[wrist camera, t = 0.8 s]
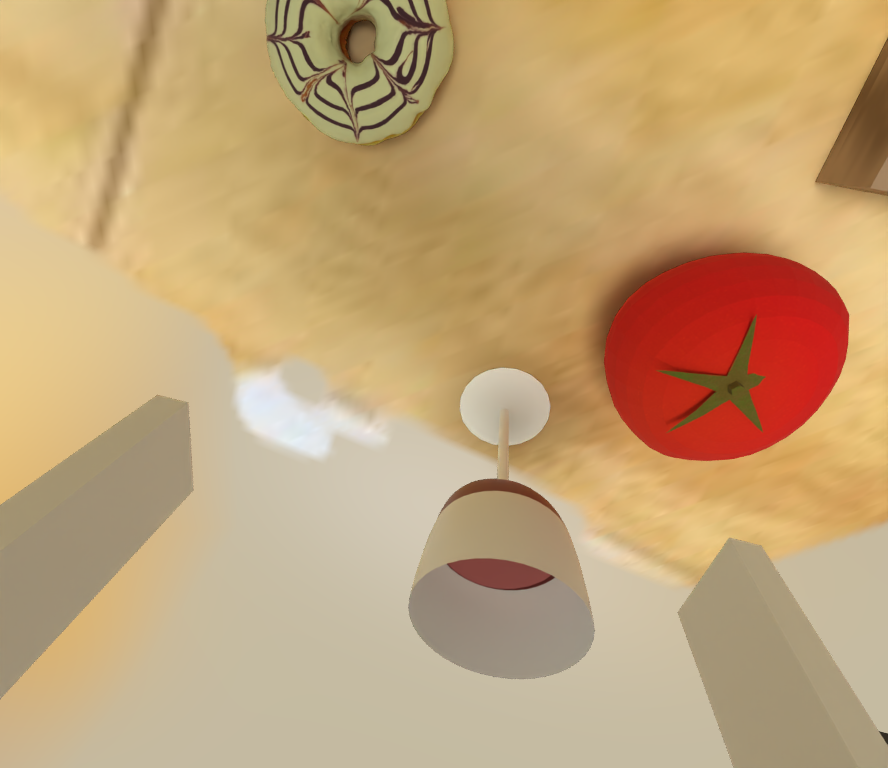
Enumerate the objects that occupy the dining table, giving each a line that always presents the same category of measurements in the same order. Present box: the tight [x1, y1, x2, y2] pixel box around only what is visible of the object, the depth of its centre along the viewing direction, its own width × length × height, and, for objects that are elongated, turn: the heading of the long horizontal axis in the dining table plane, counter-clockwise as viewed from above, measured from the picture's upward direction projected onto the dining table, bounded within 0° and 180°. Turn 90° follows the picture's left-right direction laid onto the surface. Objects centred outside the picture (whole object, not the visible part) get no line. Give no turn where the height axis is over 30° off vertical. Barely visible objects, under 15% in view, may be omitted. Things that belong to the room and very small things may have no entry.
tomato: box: [604, 253, 849, 461], centre depth 29 cm, size 12×14×12 cm
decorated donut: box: [265, 0, 454, 146], centre depth 28 cm, size 10×11×4 cm
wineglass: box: [408, 368, 595, 679], centre depth 30 cm, size 8×9×20 cm
